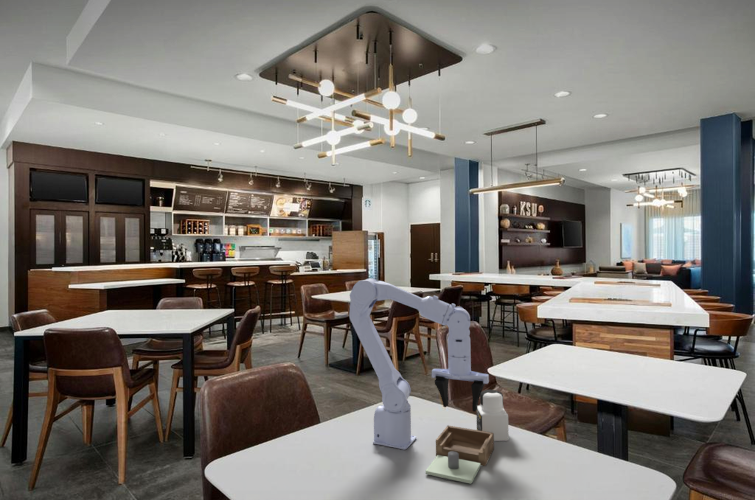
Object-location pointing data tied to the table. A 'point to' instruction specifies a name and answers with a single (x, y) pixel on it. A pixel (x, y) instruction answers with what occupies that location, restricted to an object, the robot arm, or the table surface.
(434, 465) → the cover plate
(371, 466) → the table surface
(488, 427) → the medicine bottle
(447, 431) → the walnut box
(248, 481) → the table surface
